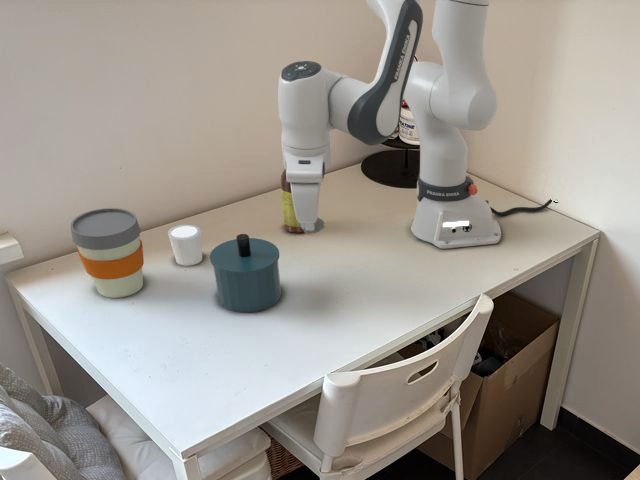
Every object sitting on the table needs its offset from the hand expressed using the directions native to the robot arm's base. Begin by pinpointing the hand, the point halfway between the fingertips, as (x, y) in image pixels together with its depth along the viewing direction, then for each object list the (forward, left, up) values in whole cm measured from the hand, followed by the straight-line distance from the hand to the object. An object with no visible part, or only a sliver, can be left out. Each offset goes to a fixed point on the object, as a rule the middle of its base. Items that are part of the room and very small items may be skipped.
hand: (310, 222), depth 140 cm
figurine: (0, 0, -2) cm, 2 cm away
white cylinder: (+28, -15, -18) cm, 37 cm away
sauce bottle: (+5, -30, -18) cm, 35 cm away
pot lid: (+13, 0, -8) cm, 16 cm away
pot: (+13, 0, -17) cm, 22 cm away
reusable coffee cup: (+40, -4, -18) cm, 44 cm away
